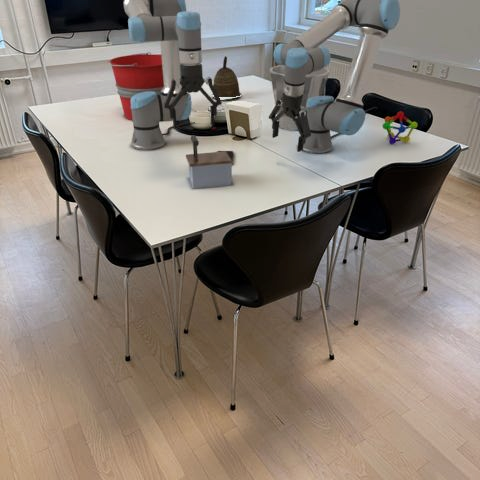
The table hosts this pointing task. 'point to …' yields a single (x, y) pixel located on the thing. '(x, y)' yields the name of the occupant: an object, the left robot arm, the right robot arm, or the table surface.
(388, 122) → the educational toy
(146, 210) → the table surface
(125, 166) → the table surface
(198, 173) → the chest
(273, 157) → the table surface
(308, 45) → the right robot arm
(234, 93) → the bell
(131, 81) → the bucket
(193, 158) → the lid
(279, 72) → the bucket
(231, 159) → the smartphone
